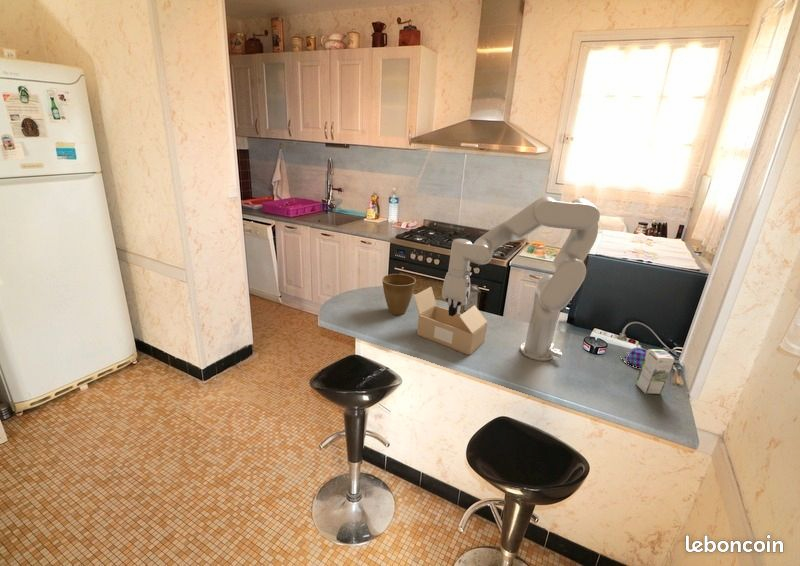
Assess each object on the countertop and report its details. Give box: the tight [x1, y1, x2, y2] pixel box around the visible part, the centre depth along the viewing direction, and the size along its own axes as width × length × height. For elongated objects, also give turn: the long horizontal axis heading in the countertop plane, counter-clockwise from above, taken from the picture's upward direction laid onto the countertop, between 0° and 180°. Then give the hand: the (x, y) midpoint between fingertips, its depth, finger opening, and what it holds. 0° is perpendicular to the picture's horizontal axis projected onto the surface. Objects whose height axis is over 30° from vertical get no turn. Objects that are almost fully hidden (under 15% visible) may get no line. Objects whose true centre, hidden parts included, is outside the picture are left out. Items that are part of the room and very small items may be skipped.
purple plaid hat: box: [620, 347, 648, 370], centre depth 149 cm, size 12×12×5 cm
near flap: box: [459, 305, 488, 334], centre depth 149 cm, size 8×13×1 cm
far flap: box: [413, 286, 437, 315], centre depth 160 cm, size 8×13×1 cm
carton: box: [416, 304, 488, 356], centre depth 156 cm, size 24×13×9 cm, turn 54°
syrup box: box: [635, 348, 675, 395], centre depth 131 cm, size 6×6×14 cm
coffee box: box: [459, 283, 482, 314], centre depth 171 cm, size 9×6×16 cm
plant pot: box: [381, 273, 417, 316], centre depth 176 cm, size 15×15×16 cm
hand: (452, 314), depth 154 cm, fingers closed
